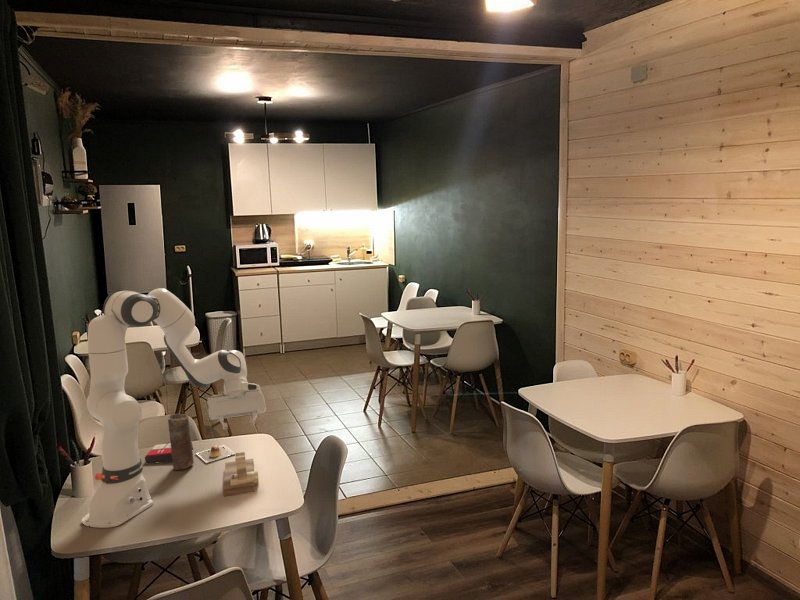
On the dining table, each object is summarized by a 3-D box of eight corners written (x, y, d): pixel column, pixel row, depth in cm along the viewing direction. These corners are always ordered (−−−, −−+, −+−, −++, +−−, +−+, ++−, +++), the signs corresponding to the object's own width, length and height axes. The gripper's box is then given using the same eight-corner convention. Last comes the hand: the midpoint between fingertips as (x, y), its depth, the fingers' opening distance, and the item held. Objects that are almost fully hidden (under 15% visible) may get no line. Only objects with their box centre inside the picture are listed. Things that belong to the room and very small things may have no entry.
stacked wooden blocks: (258, 484, 215) (255, 456, 213) (230, 489, 213) (227, 460, 212) (258, 477, 221) (255, 449, 219) (231, 481, 219) (228, 453, 217)
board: (254, 491, 213) (253, 484, 213) (224, 496, 211) (223, 489, 211) (253, 464, 234) (253, 458, 234) (226, 469, 232) (225, 462, 232)
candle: (184, 461, 241) (177, 411, 238) (198, 463, 238) (192, 413, 234) (169, 469, 235) (162, 418, 231) (183, 472, 231) (177, 421, 228)
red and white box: (154, 443, 251) (191, 439, 251) (156, 454, 252) (193, 449, 252) (143, 455, 241) (182, 451, 240) (145, 466, 241) (184, 461, 241)
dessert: (195, 456, 247) (193, 444, 246) (224, 447, 254) (223, 435, 253) (206, 465, 237) (204, 453, 236) (236, 456, 244) (235, 444, 244)
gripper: (206, 391, 228) (207, 427, 220) (263, 384, 232) (267, 418, 224) (208, 399, 233) (209, 434, 225) (264, 392, 237) (267, 426, 230)
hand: (238, 426), depth 225 cm, fingers open, 8 cm apart
